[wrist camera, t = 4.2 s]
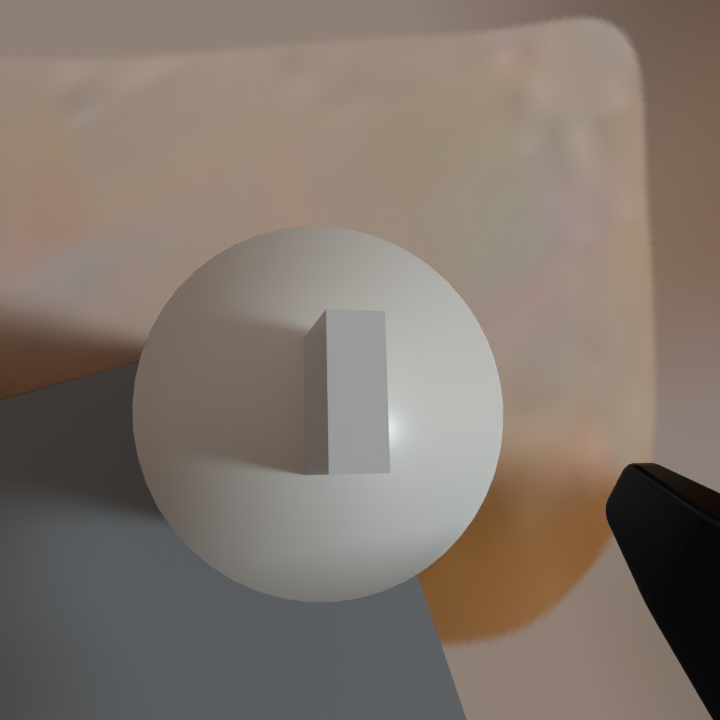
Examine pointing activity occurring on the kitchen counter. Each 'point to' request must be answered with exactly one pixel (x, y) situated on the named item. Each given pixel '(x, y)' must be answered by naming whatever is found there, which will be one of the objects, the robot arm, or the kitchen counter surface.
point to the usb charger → (317, 414)
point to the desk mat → (171, 597)
